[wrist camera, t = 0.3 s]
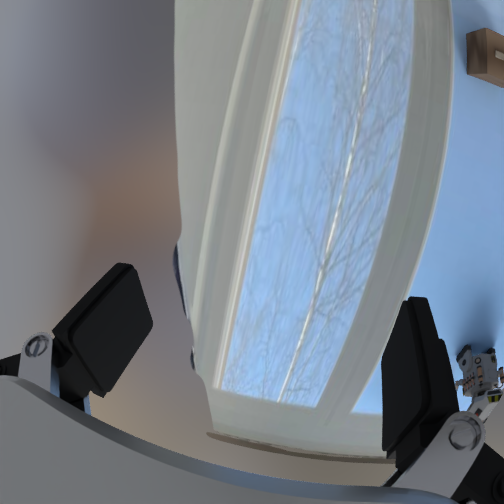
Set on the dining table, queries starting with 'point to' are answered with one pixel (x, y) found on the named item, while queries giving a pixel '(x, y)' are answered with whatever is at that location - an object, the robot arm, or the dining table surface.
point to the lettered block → (486, 56)
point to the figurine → (480, 381)
